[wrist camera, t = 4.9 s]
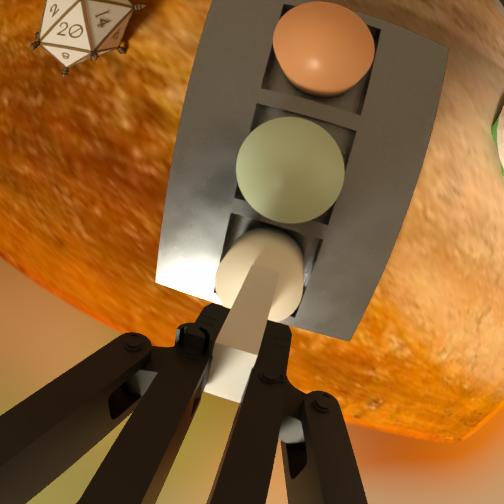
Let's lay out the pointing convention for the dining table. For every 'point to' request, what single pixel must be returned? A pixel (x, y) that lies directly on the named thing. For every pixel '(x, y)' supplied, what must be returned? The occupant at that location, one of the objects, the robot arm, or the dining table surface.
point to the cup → (499, 136)
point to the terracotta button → (323, 48)
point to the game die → (83, 29)
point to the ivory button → (268, 257)
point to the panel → (326, 116)
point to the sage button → (290, 170)
